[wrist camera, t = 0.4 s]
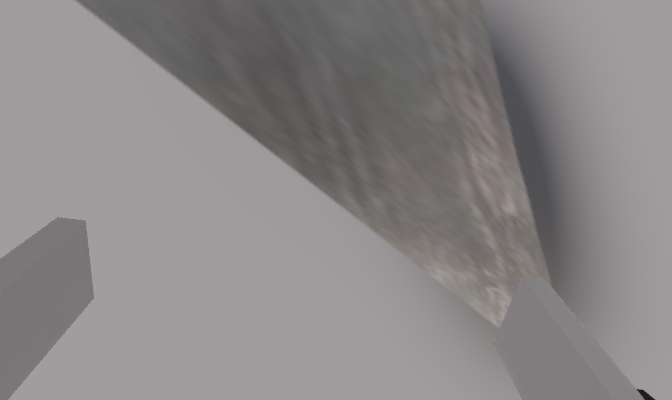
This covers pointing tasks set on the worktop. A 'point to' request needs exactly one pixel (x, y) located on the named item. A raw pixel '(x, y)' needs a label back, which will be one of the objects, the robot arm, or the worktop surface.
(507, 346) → the robot arm
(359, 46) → the worktop surface
